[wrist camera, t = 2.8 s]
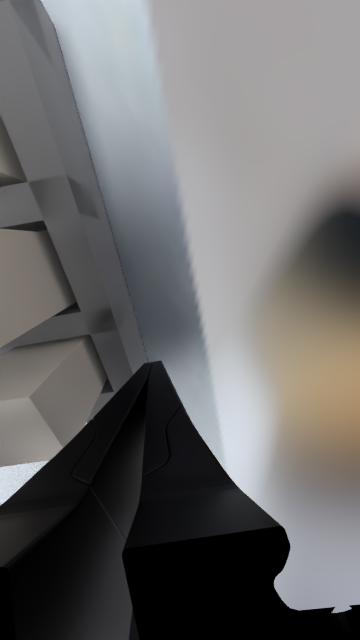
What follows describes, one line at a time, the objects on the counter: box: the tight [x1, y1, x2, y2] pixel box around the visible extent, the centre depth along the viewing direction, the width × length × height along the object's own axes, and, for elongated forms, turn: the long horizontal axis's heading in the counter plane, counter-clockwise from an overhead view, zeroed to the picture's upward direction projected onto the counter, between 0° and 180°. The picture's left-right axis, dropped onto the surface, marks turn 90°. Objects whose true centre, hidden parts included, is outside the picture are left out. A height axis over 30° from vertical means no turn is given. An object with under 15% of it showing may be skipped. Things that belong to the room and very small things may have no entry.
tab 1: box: [0, 335, 108, 467], centre depth 9 cm, size 3×4×5 cm
